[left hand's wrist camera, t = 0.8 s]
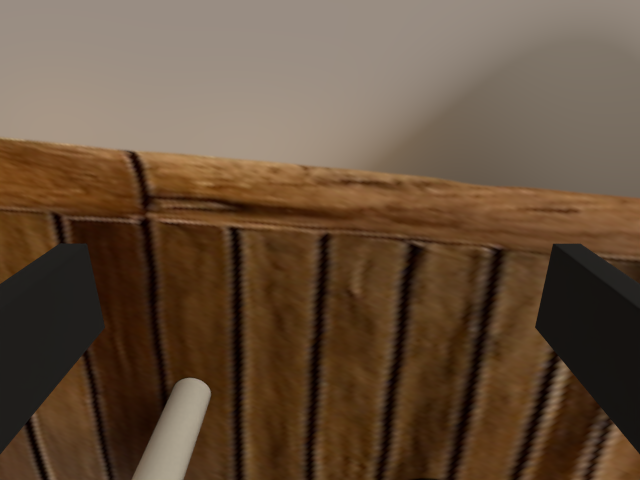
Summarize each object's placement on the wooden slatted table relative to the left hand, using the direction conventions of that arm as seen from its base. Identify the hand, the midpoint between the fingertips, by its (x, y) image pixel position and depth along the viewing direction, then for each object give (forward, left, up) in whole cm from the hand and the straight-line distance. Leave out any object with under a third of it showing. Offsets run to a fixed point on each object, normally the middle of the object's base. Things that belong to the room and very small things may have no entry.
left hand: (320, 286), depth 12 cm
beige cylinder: (-28, +14, -28) cm, 42 cm away
